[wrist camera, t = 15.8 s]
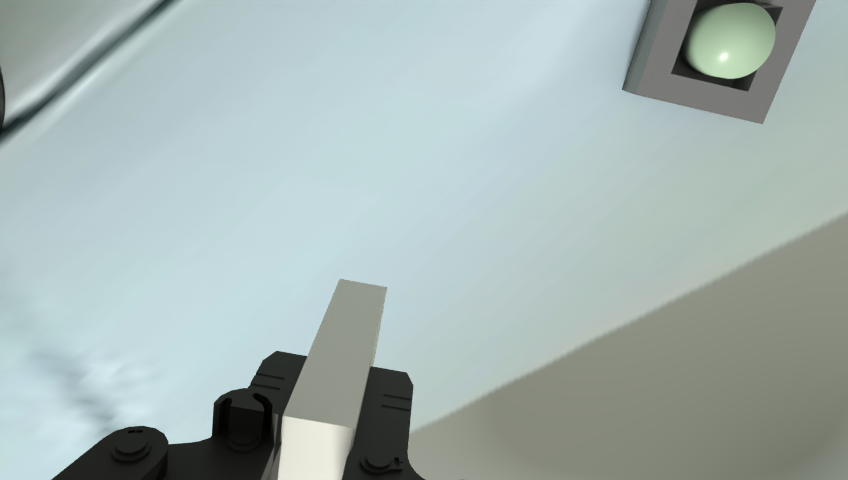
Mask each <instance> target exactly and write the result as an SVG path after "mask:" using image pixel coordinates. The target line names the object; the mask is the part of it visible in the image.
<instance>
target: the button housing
mask: <svg viewBox="0 0 848 480" xmlns="http://www.w3.org/2000/svg"><path fill="white" fill-rule="evenodd" d="M815 2H816V0H652V2H651V5H650V8H649V11H648V14H647V17H646V20H645V23H644V26H643V29H642V32H641V35H640V38H639V41H638V44H637V47H636V50H635V53H634V56H633V59H632V62H631V65H630V68H629V71H628V74H627V77H626V80H625V83H624V86H623V89H622V90H624V91H627V92H630V93H633V94H636V95H640V96H644V97H648V98H653V99H657V100H661V101H666V102H670V103H674V104H679V105H683V106H687V107H691V108H696V109H700V110H704V111H709V112H713V113H717V114H721V115H726V116H730V117H734V118H739V119H743V120H747V121H752V122H756V123H760V124H763V122H764V120H765V117H766V115H767V113H768V110H769V108H770V106H771V103H772V101H773V99H774V97H775V94H776V92H777V90H778V87H779V85H780V83H781V80H782V78H783V76H784V73H785V71H786V69H787V66H788V64H789V62H790V60H791V57H792V55H793V53H794V50H795V48H796V46H797V43H798V41H799V39H800V36H801V34H802V32H803V29H804V27H805V25H806V22H807V20H808V18H809V16H810V13H811V11H812V9H813V6H814V4H815ZM736 3H752V4H756V5H758V6H760V7H762V8H763V9H765V10H766V11H767V12H768V13H769V15H770V16H771V18H772V20H773V22H774V26H775V42H774V46H773V49H772V51H771V53H770V55H769V56H768V58H767V59H766V61H765V62H764V63H763V64H762V65H761V66H760V67H759V68H758V69H757V70H755V71H754V72H752V73H750V74H748V75H746V76H744V77H740V78H734V79H727V78H721V77H715V76H709V75H704V74H700V73H697V72H695V71H693V70H692V69H690V68H689V67H688V66H687V64H686V63H685V61H684V59H683V57H682V53H681V44H682V41H683V39H684V36H685V33H686V30H687V28H688V25H689V22H690V20H691V19H692V18H693V17H694V16H695V15H696V14H698V13H699V12H701V11H702V10H704V9H706V8H709V7H712V6H717V5H727V4H736Z"/></svg>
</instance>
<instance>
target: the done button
mask: <svg viewBox="0 0 848 480" xmlns="http://www.w3.org/2000/svg"><path fill="white" fill-rule="evenodd" d="M774 42H775V26H774V22H773V20H772V18H771V16H770V15H769V13H768V12H767V11H766V10H765V9H763V8H762V7H760V6H758V5H756V4H752V3H736V4H727V5H717V6H712V7H709V8H706V9H704V10H702V11H701V12H699V13H698V14H696V15H695V16H694V17H693V18H692V19H691V20H690V22H689V25H688V28H687V30H686V33H685V36H684V39H683V41H682V44H681V53H682V57H683V59H684V61H685V63H686V64H687V66H688V67H689V68H690V69H692V70H693V71H695V72H697V73H700V74H704V75H709V76H715V77H721V78H727V79H734V78H740V77H744V76H746V75H748V74H750V73H752V72H754V71H755V70H757V69H758V68H759V67H760V66H761V65H762V64H763V63H764V62H765V61H766V59H767V58H768V56H769V55H770V53H771V51H772V49H773V46H774Z"/></svg>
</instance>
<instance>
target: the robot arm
mask: <svg viewBox="0 0 848 480" xmlns="http://www.w3.org/2000/svg"><path fill="white" fill-rule="evenodd" d="M3 111H4V100H3V90H2V84H1V79H0V130H1V126H2V121H3ZM386 291H387V287H382V286H377V285H371V284H366V283H360V282H355V281H349V280H344V279H340V280H339V282H338V285H337V287H336V290H335V292H334V294H333V297H332V299H331V301H330V304H329V306H328V309H327V311H326V313H325V316H324V318H323V321H322V323H321V325H320V328H319V330H318V333H317V335H316V337H315V340H314V342H313V345H312V347H311V349H310V352H309V354H308V356H302V355H297V354H291V353H286V352H280V351H276V352H274V353H273V354H272V355H270V356H269V357H267V358H266V359H264V360H263V361H262V363H261V365H260V367H259V369H258V371H257V372H256V375H255V376H254V378H253V380H252V382H251V384H250V386H249V387H248V388H243V389H237V390H232V391H230V392H228V393H226V394H224V395H221V396H220V397H219V398H218V399H217V400H216V401H215V402H214V410H213V428H212V436H211V438H209V439H205V440H202V441H199V442H192V443H182V444H168V440H167V438H166V436H165V435H164V433H162V432H160V431H159V430H157V429H156V428H151V427H146V426H135V427H127V428H124V429H121V430H117V431H115V432H113V433H111V434H110V435H108V436H106V437H105V438H103V439H102V440H101V441H99V442H98V443H97V444H96V445H94V446H93V447H92V448H90V449H89V450H88V451H87V452H85V453H84V454H83V455H82V456H80V457H79V458H78V459H77V460H75V461H74V462H73V463H72V464H70V465H69V466H68V467H67V468H65V469H64V470H63V471H62V472H60V473H59V474H58V475H57V476H55V477H54V478H53V479H52V480H425V479H423V478H422V477H421V476H419V475H418V474H417V473H416V472H415V471H414V469H413V468H412V467H411V465H410V463H409V460H408V454H407V449H408V439H409V428H410V417H411V406H412V395H413V384H412V382H411V380H410V378H409V376H408V374H407V373H406V372H400V371H394V370H389V369H383V368H377V367H373V363H374V358H375V353H376V347H377V341H378V336H379V330H380V325H381V319H382V313H383V308H384V302H385V296H386Z"/></svg>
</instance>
